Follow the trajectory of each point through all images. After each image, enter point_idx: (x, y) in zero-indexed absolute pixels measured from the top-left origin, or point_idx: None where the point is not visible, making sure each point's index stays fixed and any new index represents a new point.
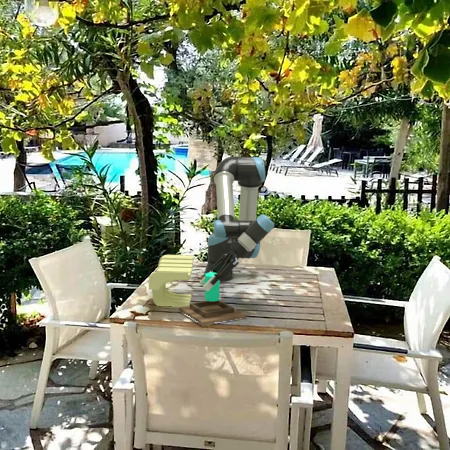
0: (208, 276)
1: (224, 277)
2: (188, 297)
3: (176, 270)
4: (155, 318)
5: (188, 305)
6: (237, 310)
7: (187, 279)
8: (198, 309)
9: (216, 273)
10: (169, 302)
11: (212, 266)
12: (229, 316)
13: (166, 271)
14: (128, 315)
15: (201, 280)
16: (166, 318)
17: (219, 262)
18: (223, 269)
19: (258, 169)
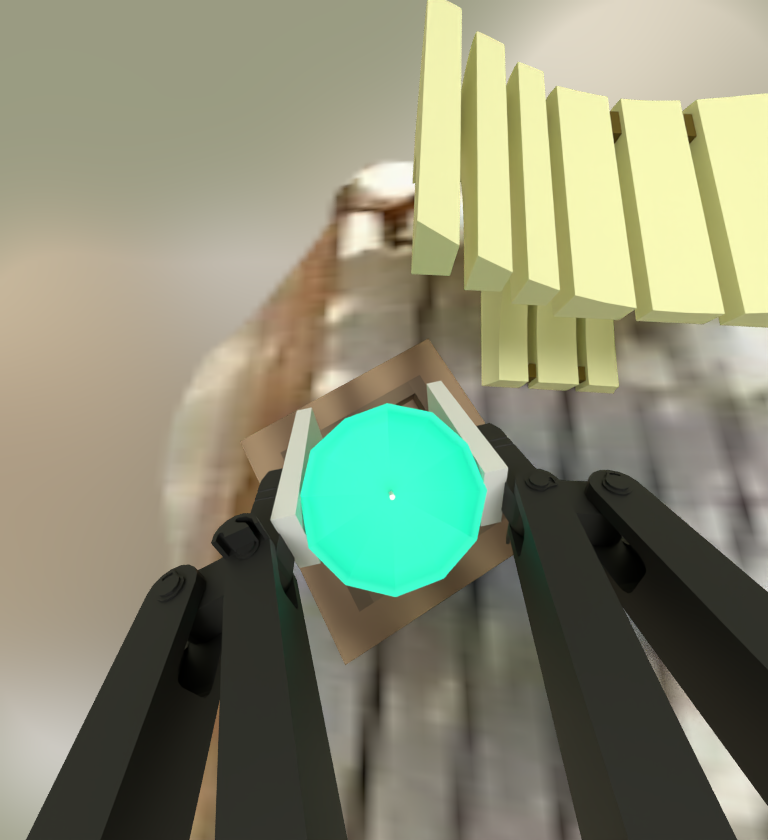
0: (320, 442)
1: (180, 670)
2: (572, 374)
3: (743, 208)
4: (352, 273)
5: (489, 380)
6: (393, 621)
7: (464, 283)
8: (344, 417)
9: (456, 549)
10: (495, 300)
11: (635, 501)
12: (306, 570)
13: (705, 154)
14: (382, 191)
15: (442, 391)
16: (352, 308)
17: (660, 706)
18: (109, 766)
19: None
